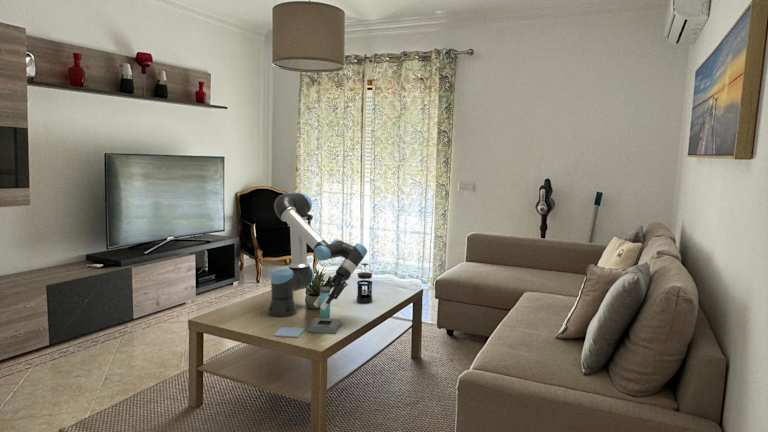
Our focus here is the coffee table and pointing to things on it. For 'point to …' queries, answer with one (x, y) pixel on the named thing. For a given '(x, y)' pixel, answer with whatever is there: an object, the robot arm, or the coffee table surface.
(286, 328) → the mat
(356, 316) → the coffee table surface
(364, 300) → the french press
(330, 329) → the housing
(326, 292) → the plug
